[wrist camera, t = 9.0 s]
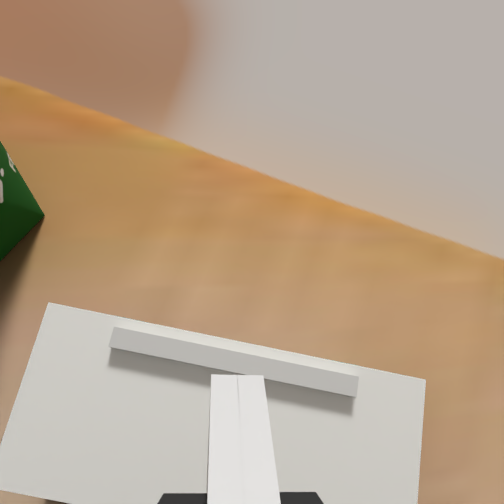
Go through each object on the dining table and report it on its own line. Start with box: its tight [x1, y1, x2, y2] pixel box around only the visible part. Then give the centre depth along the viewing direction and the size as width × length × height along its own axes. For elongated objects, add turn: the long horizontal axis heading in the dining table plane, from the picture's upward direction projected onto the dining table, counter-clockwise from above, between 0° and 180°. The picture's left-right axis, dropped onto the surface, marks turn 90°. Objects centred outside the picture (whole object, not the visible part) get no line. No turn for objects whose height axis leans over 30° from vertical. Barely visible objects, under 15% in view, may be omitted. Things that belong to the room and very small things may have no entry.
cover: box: [0, 302, 426, 504], centre depth 18 cm, size 16×7×1 cm, turn 80°
